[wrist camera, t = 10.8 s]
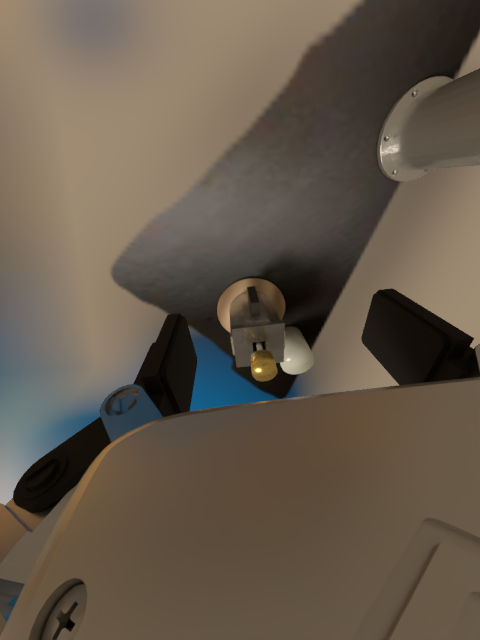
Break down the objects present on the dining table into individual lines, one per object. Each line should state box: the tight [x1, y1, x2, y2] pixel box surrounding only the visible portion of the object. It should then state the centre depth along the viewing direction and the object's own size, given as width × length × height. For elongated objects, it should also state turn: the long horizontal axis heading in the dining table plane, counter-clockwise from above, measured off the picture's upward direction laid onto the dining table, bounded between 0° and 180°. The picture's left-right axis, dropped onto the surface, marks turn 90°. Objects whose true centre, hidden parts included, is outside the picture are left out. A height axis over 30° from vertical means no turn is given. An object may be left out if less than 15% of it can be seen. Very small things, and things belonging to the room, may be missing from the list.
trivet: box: [217, 278, 285, 332], centre depth 49 cm, size 16×16×1 cm
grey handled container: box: [229, 286, 285, 367], centre depth 43 cm, size 10×13×13 cm
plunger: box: [250, 341, 277, 381], centre depth 40 cm, size 8×8×18 cm
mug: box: [280, 326, 314, 374], centre depth 52 cm, size 8×9×9 cm
